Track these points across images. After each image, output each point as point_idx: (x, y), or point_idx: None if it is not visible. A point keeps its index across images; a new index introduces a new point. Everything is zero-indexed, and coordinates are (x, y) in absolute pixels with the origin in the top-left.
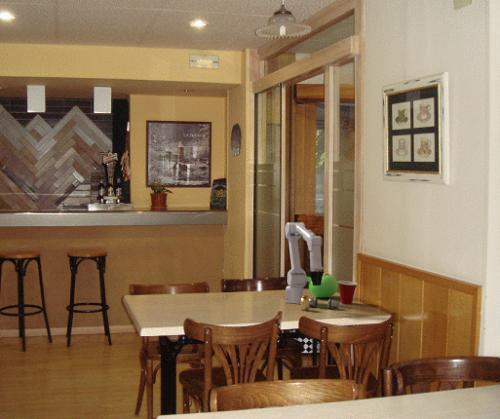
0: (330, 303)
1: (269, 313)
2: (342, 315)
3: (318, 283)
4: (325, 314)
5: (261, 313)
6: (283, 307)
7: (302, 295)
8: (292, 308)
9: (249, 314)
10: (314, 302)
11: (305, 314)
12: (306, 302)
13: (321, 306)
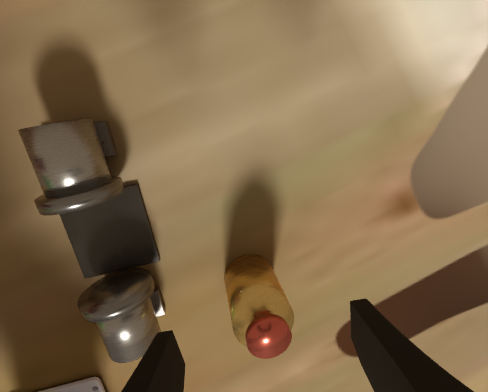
0: (106, 179)
1: None
2: (261, 4)
3: (173, 372)
4: (295, 123)
5: None
6: (249, 384)
7: (272, 357)
8: None
9: None
10: (150, 287)
11: (356, 217)
12: (280, 288)
13: (84, 253)
